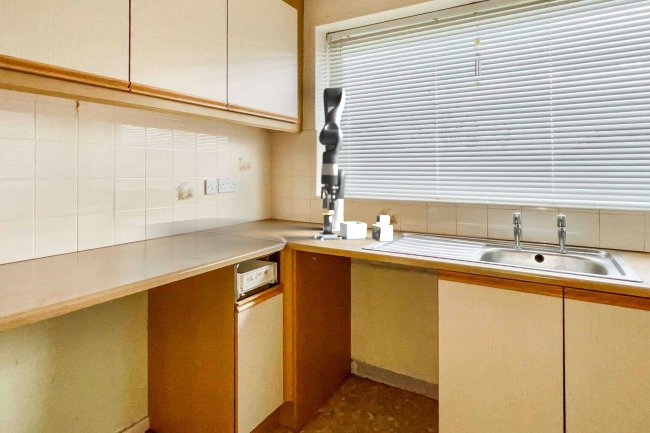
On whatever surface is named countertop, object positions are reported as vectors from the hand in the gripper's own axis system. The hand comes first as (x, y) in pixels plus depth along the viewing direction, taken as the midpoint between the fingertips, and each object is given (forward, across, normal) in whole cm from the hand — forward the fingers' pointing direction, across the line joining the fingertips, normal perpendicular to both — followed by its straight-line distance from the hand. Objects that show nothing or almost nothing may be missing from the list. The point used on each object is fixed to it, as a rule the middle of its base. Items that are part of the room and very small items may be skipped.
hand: (328, 209), depth 176 cm
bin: (+14, 0, +13) cm, 20 cm away
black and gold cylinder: (+13, 0, 0) cm, 13 cm away
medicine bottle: (+15, +3, +27) cm, 31 cm away
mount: (+14, 0, 0) cm, 15 cm away
